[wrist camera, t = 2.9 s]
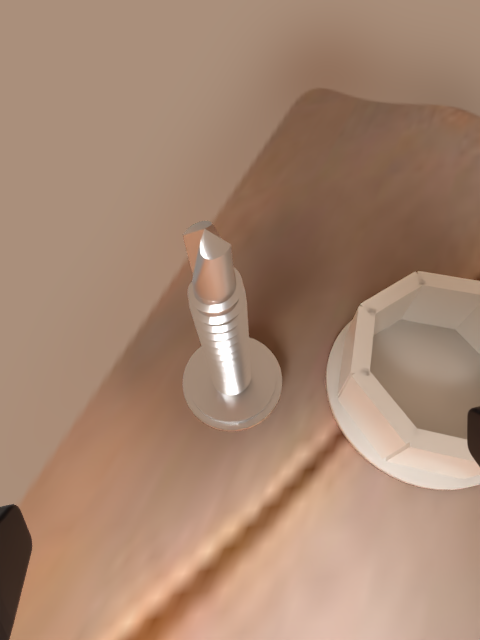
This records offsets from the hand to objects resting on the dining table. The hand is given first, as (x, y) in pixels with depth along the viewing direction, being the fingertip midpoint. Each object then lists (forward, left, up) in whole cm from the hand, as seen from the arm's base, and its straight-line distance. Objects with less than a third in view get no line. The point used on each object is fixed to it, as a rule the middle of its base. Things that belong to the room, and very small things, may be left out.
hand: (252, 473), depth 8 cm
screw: (+2, -5, -12) cm, 14 cm away
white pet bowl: (-7, -8, -12) cm, 16 cm away
